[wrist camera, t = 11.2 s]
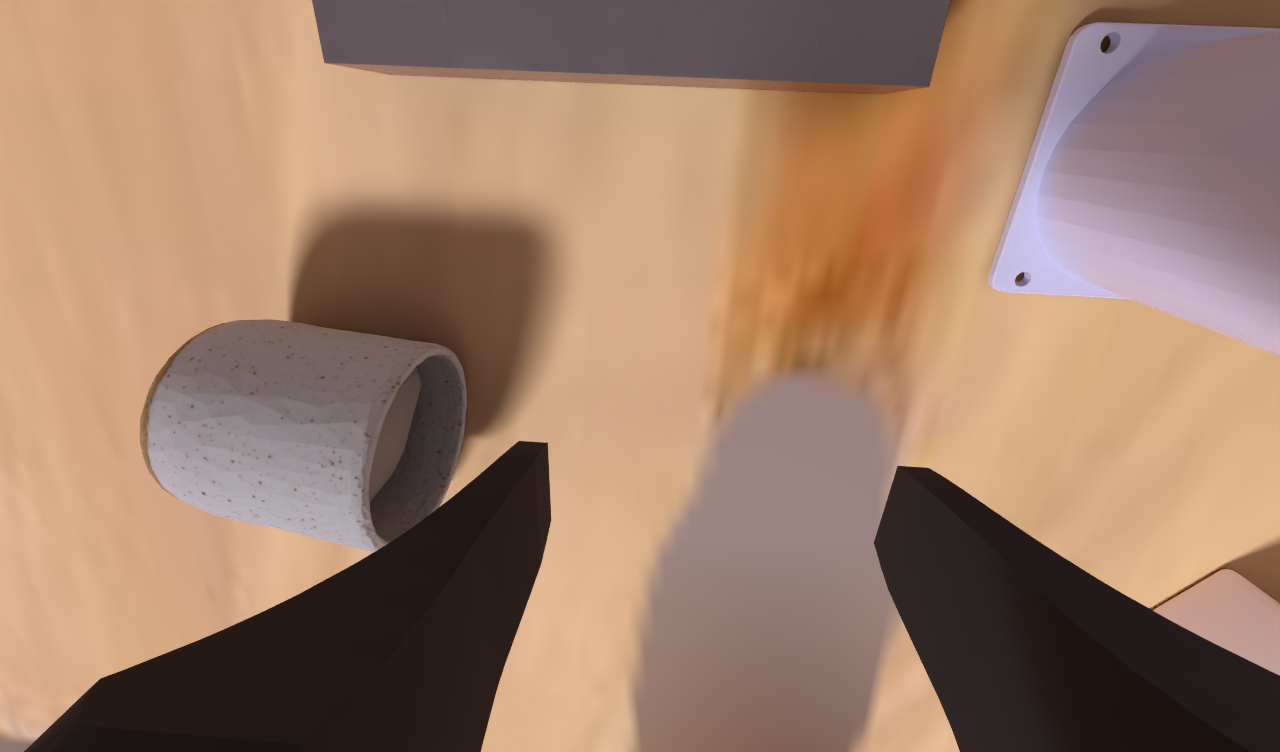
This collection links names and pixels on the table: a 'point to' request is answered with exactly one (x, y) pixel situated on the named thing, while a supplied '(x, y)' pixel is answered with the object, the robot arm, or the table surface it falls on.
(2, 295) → the table surface
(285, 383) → the ceramic mug
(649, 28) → the keyhole plate
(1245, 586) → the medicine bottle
